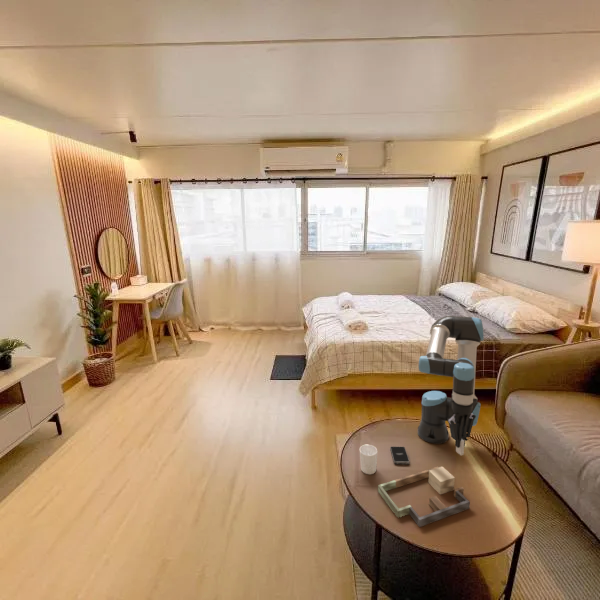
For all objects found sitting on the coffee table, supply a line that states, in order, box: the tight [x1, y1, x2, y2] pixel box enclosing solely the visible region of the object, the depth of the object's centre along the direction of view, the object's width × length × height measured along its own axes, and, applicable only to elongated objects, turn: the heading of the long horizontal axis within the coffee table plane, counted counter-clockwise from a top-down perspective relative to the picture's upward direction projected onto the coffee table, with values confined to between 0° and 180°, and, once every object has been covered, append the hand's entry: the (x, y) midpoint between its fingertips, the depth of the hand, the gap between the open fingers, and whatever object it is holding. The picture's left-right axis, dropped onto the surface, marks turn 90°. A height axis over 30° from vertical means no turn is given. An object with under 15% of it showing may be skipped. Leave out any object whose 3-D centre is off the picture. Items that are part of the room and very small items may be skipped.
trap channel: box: [377, 465, 471, 528], centre depth 131 cm, size 31×20×3 cm, turn 108°
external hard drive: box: [389, 445, 410, 466], centre depth 156 cm, size 7×11×2 cm, turn 175°
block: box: [428, 466, 456, 495], centre depth 136 cm, size 7×7×6 cm
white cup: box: [359, 444, 378, 475], centre depth 148 cm, size 8×8×10 cm
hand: (459, 452), depth 137 cm, fingers closed
